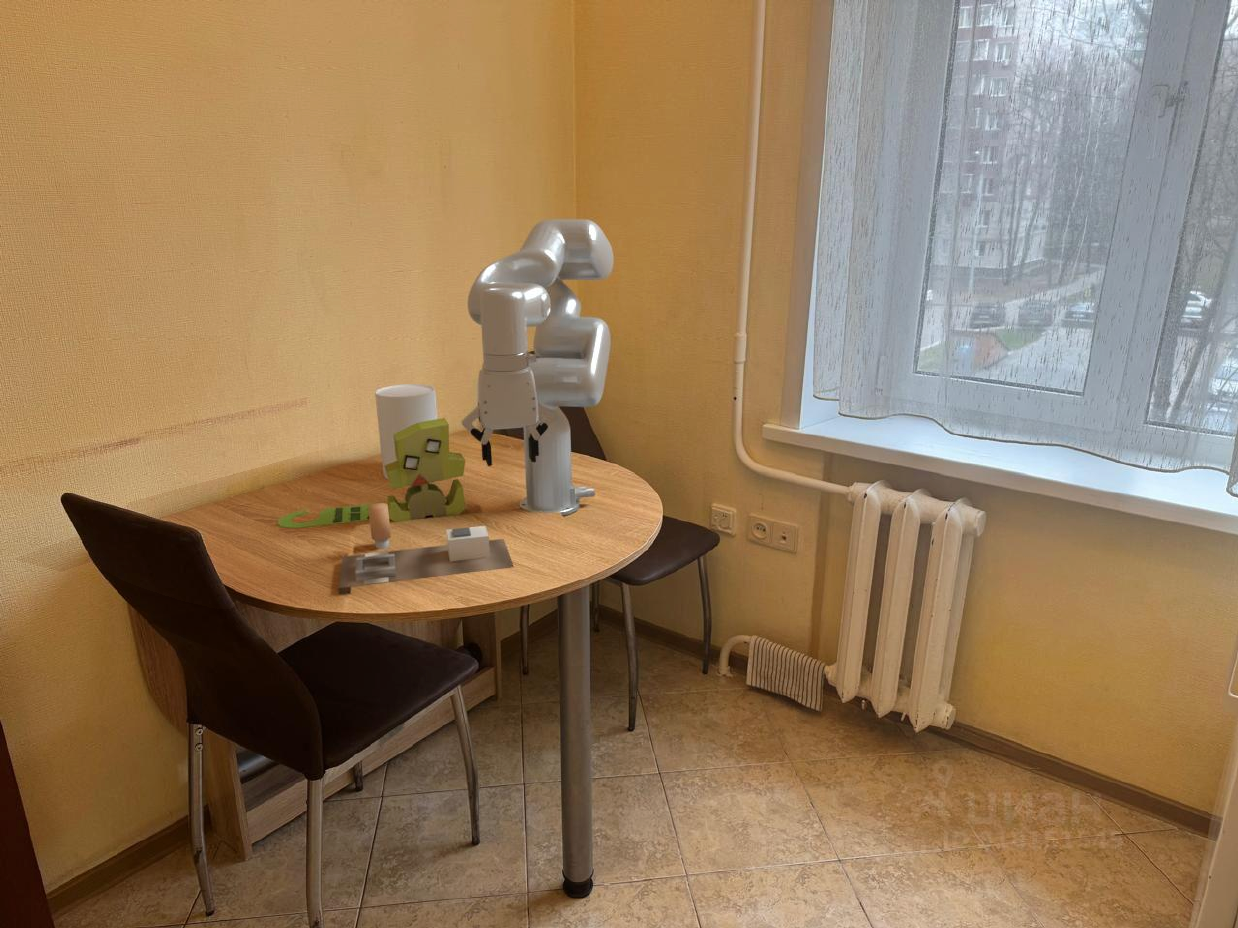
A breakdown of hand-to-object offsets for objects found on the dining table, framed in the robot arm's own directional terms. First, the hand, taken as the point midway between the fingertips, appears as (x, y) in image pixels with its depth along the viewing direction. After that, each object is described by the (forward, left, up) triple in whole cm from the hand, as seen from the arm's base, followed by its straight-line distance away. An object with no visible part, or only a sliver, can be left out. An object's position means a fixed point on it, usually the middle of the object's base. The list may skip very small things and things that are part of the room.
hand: (510, 461), depth 146 cm
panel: (+16, +1, -18) cm, 24 cm away
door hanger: (+31, -30, -18) cm, 47 cm away
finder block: (+8, 0, -17) cm, 19 cm away
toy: (+14, -23, -18) cm, 33 cm away
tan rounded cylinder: (+23, -8, -18) cm, 31 cm away
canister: (+16, -55, -18) cm, 60 cm away
